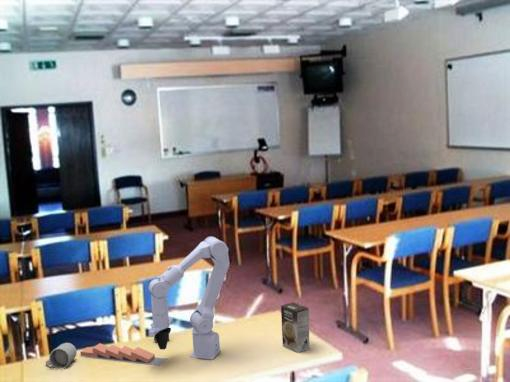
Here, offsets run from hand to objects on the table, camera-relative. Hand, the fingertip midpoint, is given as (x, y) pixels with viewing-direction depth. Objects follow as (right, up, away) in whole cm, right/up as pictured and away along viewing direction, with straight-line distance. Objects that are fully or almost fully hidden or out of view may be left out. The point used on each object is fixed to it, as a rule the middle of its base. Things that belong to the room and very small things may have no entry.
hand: (162, 348), depth 210 cm
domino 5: (-4, -4, +2) cm, 7 cm away
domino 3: (-15, -4, +6) cm, 16 cm away
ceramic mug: (-38, -7, +4) cm, 39 cm away
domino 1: (-25, -4, +9) cm, 27 cm away
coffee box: (+49, -2, +8) cm, 50 cm away
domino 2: (-20, -4, +8) cm, 22 cm away
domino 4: (-10, -4, +4) cm, 11 cm away
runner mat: (-15, -5, +6) cm, 17 cm away
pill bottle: (-4, -3, +21) cm, 22 cm away
